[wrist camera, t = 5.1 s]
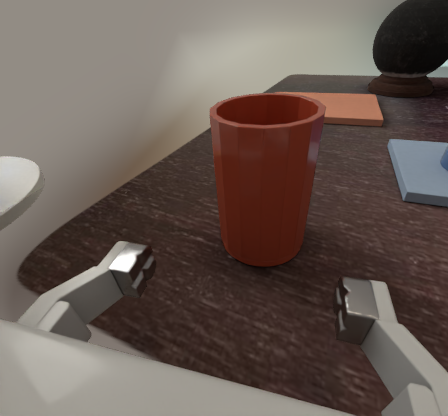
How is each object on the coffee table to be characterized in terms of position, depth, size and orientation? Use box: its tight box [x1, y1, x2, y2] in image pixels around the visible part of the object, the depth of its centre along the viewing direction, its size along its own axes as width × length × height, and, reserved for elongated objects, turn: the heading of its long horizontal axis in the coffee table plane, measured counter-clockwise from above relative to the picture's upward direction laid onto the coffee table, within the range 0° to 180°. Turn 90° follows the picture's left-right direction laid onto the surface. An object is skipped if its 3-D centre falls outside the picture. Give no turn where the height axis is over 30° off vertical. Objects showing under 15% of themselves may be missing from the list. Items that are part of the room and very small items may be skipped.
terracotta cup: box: [210, 93, 326, 267], centre depth 18 cm, size 6×6×10 cm
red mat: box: [276, 92, 383, 127], centre depth 45 cm, size 18×14×1 cm
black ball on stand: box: [368, 0, 448, 97], centre depth 47 cm, size 13×13×15 cm
